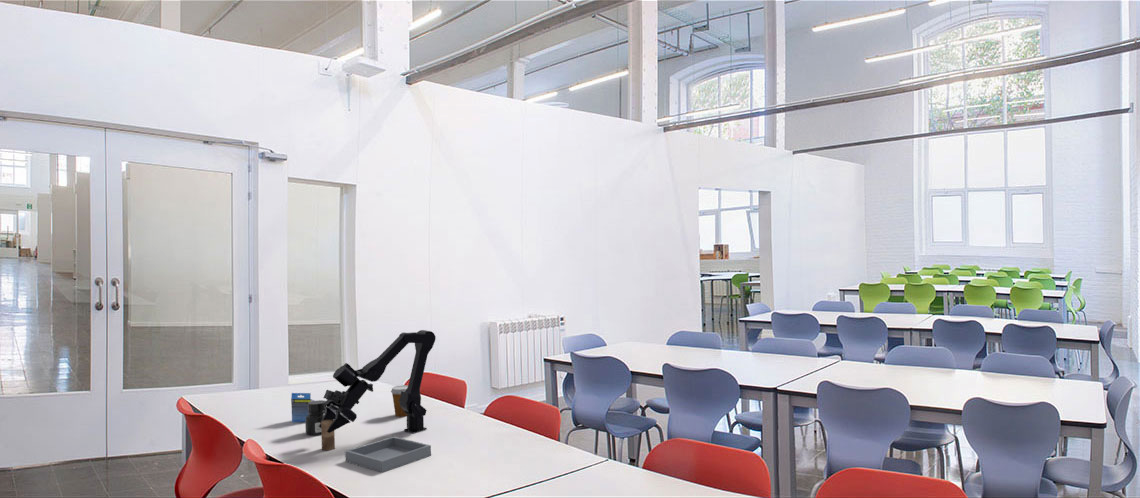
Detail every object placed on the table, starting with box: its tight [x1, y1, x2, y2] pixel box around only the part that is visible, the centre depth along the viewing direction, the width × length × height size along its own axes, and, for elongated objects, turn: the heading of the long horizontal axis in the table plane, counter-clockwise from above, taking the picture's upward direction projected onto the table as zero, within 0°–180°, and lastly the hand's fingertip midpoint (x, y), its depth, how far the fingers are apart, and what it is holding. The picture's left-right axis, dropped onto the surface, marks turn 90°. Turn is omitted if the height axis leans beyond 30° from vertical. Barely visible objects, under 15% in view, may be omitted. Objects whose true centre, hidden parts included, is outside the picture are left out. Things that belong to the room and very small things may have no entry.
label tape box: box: [290, 392, 316, 423], centre depth 272 cm, size 9×4×12 cm, turn 84°
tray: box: [344, 436, 432, 473], centre depth 219 cm, size 20×20×4 cm
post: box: [320, 420, 336, 452], centre depth 232 cm, size 4×4×10 cm
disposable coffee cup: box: [390, 384, 408, 418], centre depth 278 cm, size 10×10×12 cm
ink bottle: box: [304, 399, 327, 436], centre depth 253 cm, size 10×9×12 cm
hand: (323, 429), depth 231 cm, fingers open, 8 cm apart
